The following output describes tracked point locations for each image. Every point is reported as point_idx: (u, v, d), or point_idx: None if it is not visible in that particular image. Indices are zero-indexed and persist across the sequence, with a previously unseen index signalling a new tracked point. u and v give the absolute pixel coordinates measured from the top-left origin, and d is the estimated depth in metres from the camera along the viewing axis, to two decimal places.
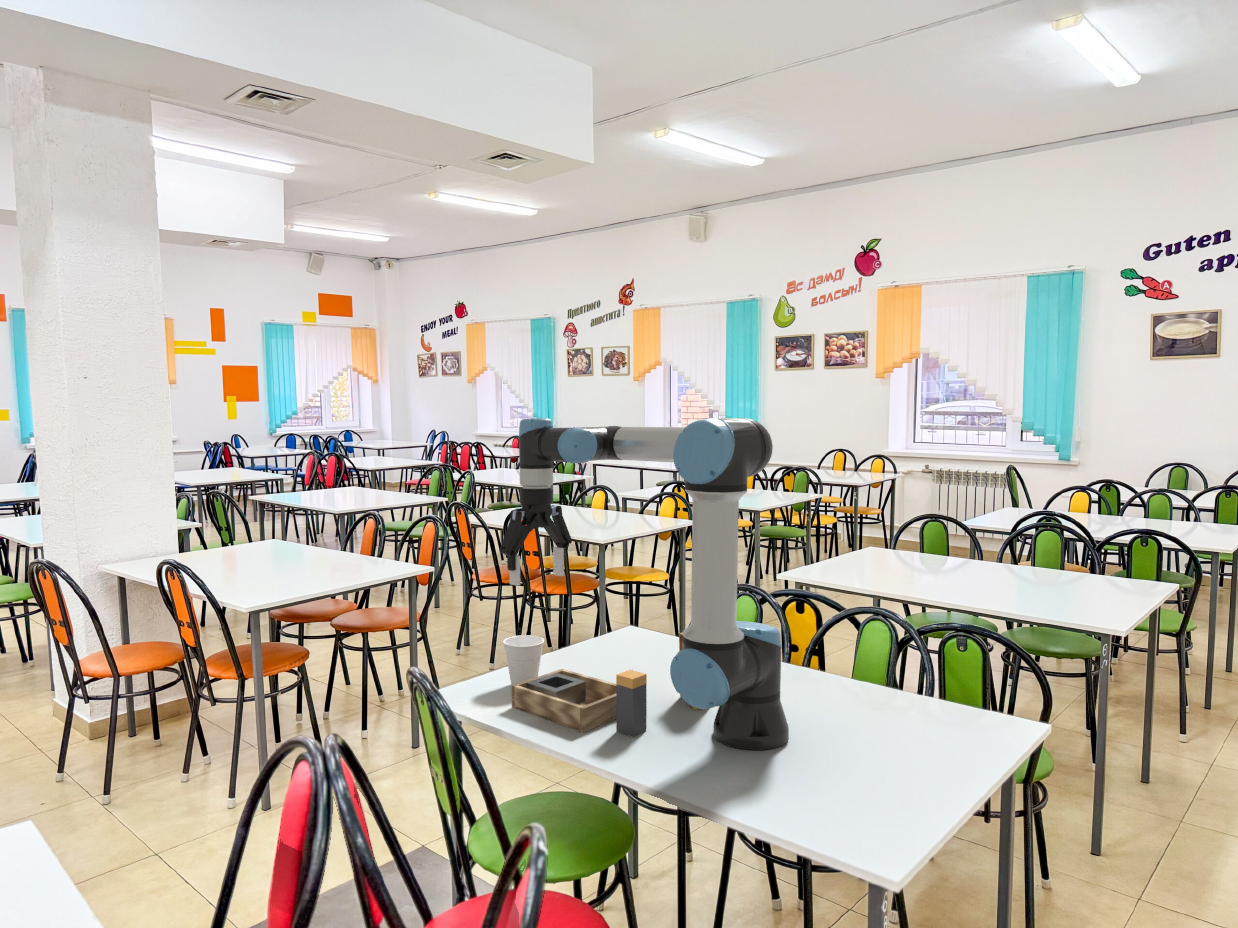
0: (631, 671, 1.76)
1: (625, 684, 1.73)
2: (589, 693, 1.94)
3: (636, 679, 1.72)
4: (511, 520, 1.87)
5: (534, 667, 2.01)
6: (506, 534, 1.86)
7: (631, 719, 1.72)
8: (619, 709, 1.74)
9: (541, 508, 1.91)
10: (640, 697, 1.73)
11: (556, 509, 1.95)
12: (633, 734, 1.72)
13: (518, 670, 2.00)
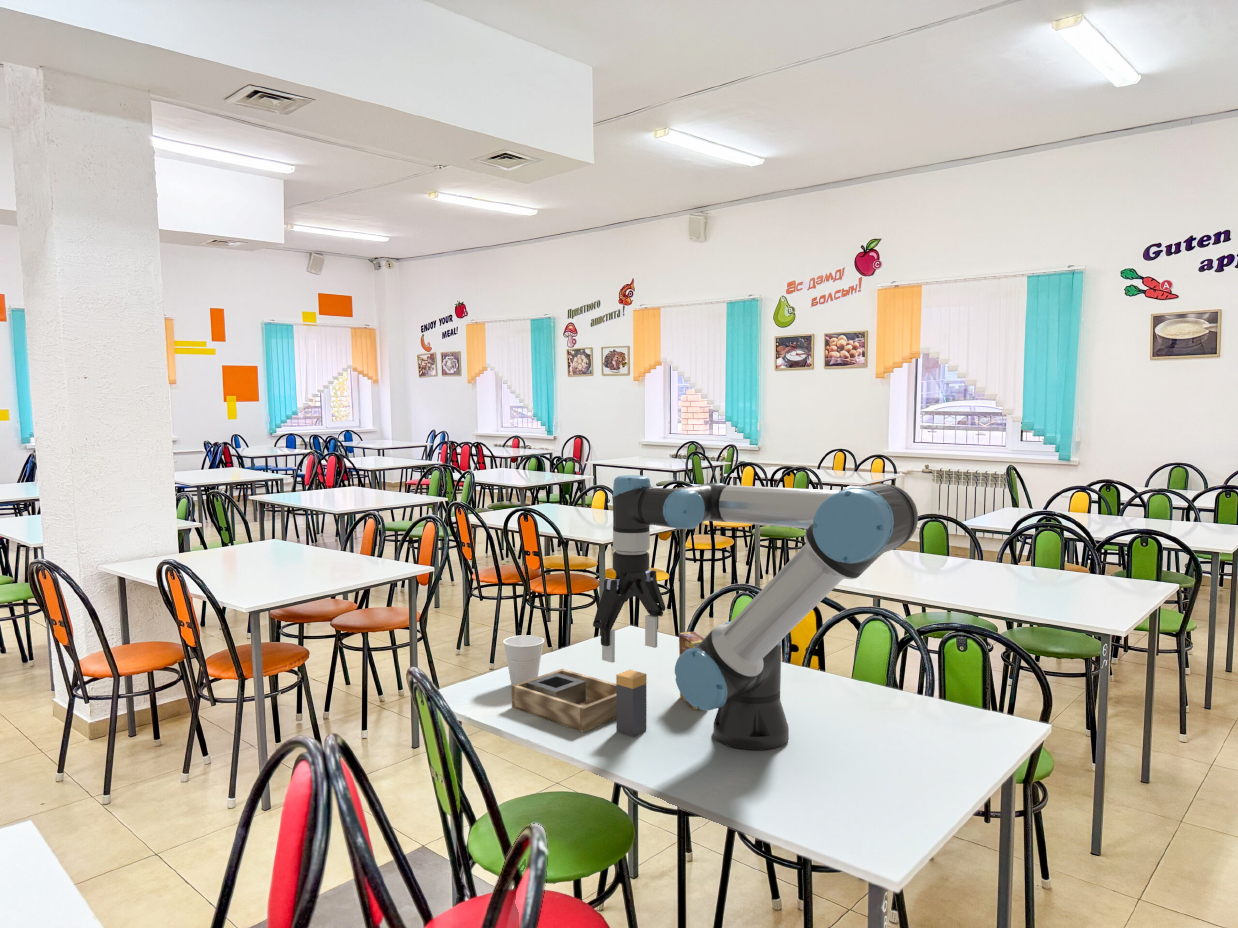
0: (631, 671, 1.76)
1: (625, 684, 1.73)
2: (589, 693, 1.94)
3: (636, 679, 1.72)
4: (605, 590, 1.68)
5: (534, 667, 2.01)
6: (599, 606, 1.68)
7: (631, 719, 1.72)
8: (619, 709, 1.74)
9: (636, 575, 1.73)
10: (640, 697, 1.73)
11: (650, 574, 1.77)
12: (633, 734, 1.72)
13: (518, 670, 2.00)
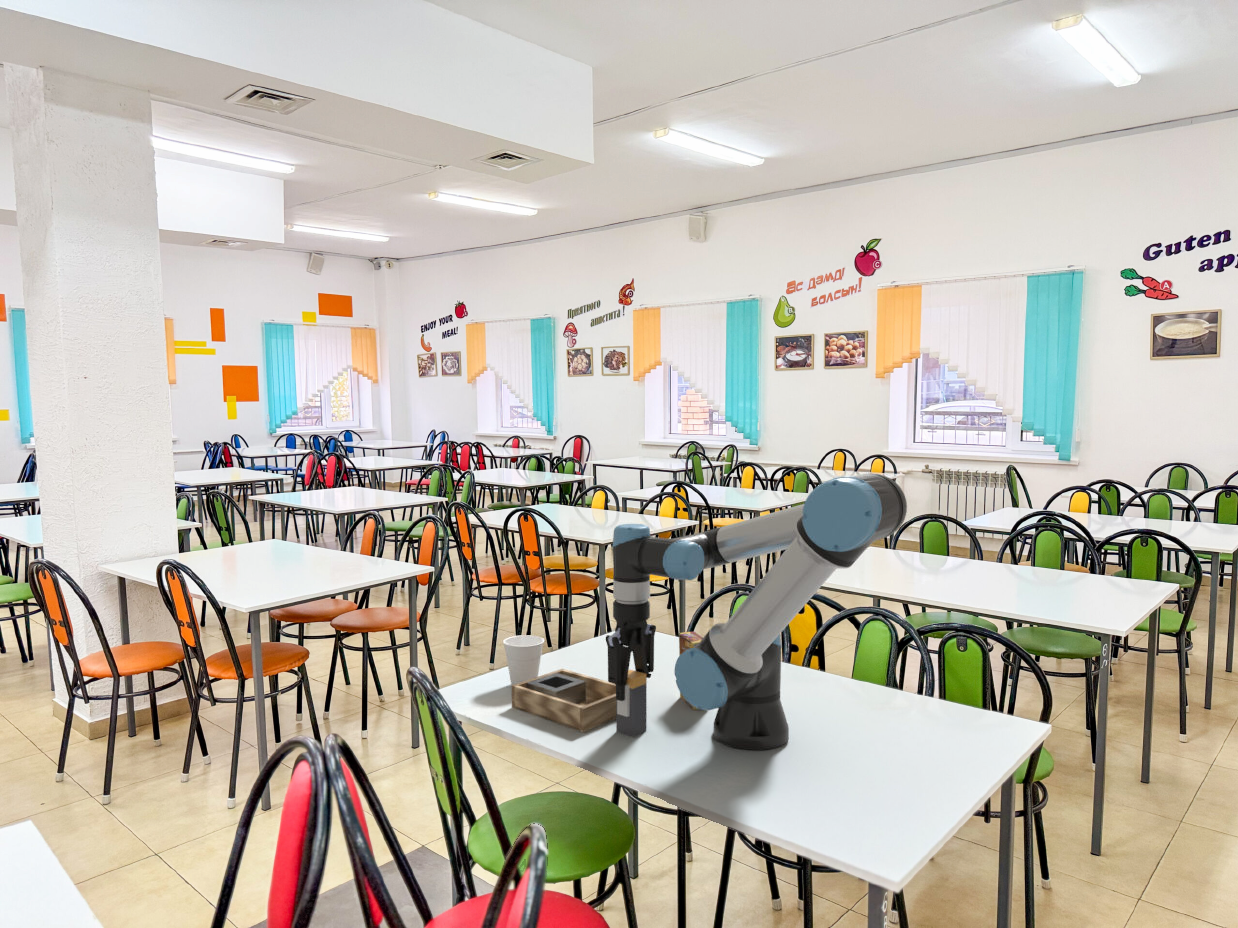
0: (631, 671, 1.76)
1: None
2: (589, 693, 1.94)
3: (636, 679, 1.72)
4: (609, 647, 1.70)
5: (534, 667, 2.01)
6: (609, 663, 1.70)
7: (631, 719, 1.72)
8: None
9: (636, 623, 1.73)
10: (640, 697, 1.73)
11: (650, 627, 1.77)
12: (633, 734, 1.72)
13: (518, 670, 2.00)
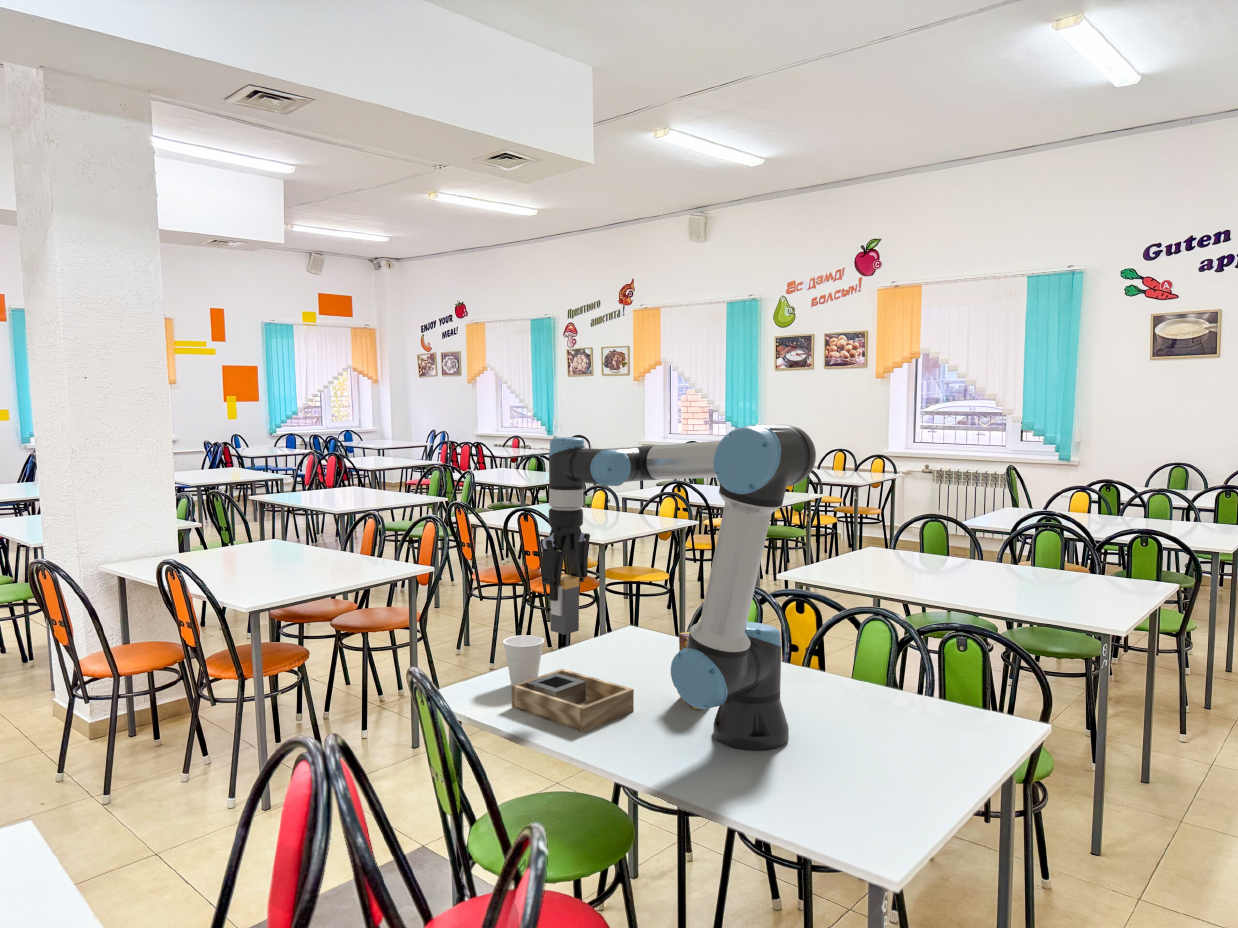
0: (565, 575, 1.89)
1: None
2: (589, 693, 1.94)
3: (569, 581, 1.85)
4: (543, 549, 1.82)
5: (534, 667, 2.01)
6: (543, 565, 1.83)
7: (563, 618, 1.85)
8: None
9: (570, 530, 1.86)
10: (572, 598, 1.86)
11: (584, 536, 1.90)
12: (565, 632, 1.85)
13: (518, 670, 2.00)
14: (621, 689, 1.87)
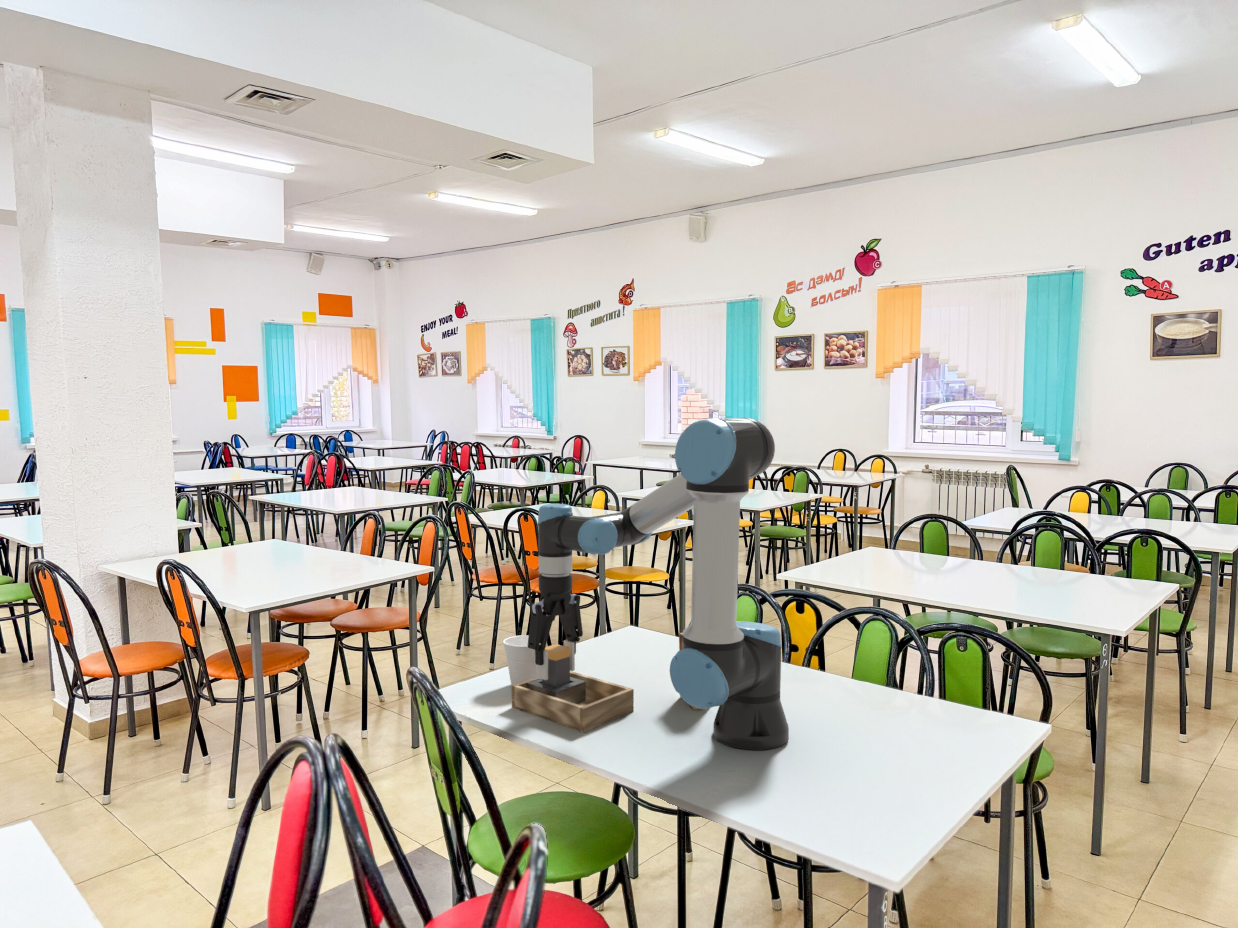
0: (556, 645, 1.92)
1: (549, 657, 1.88)
2: (589, 693, 1.94)
3: (559, 652, 1.88)
4: (532, 614, 1.85)
5: (534, 667, 2.01)
6: (530, 629, 1.85)
7: None
8: (544, 680, 1.90)
9: (560, 595, 1.89)
10: (563, 669, 1.89)
11: (575, 597, 1.93)
12: None
13: (518, 670, 2.00)
14: (621, 689, 1.87)
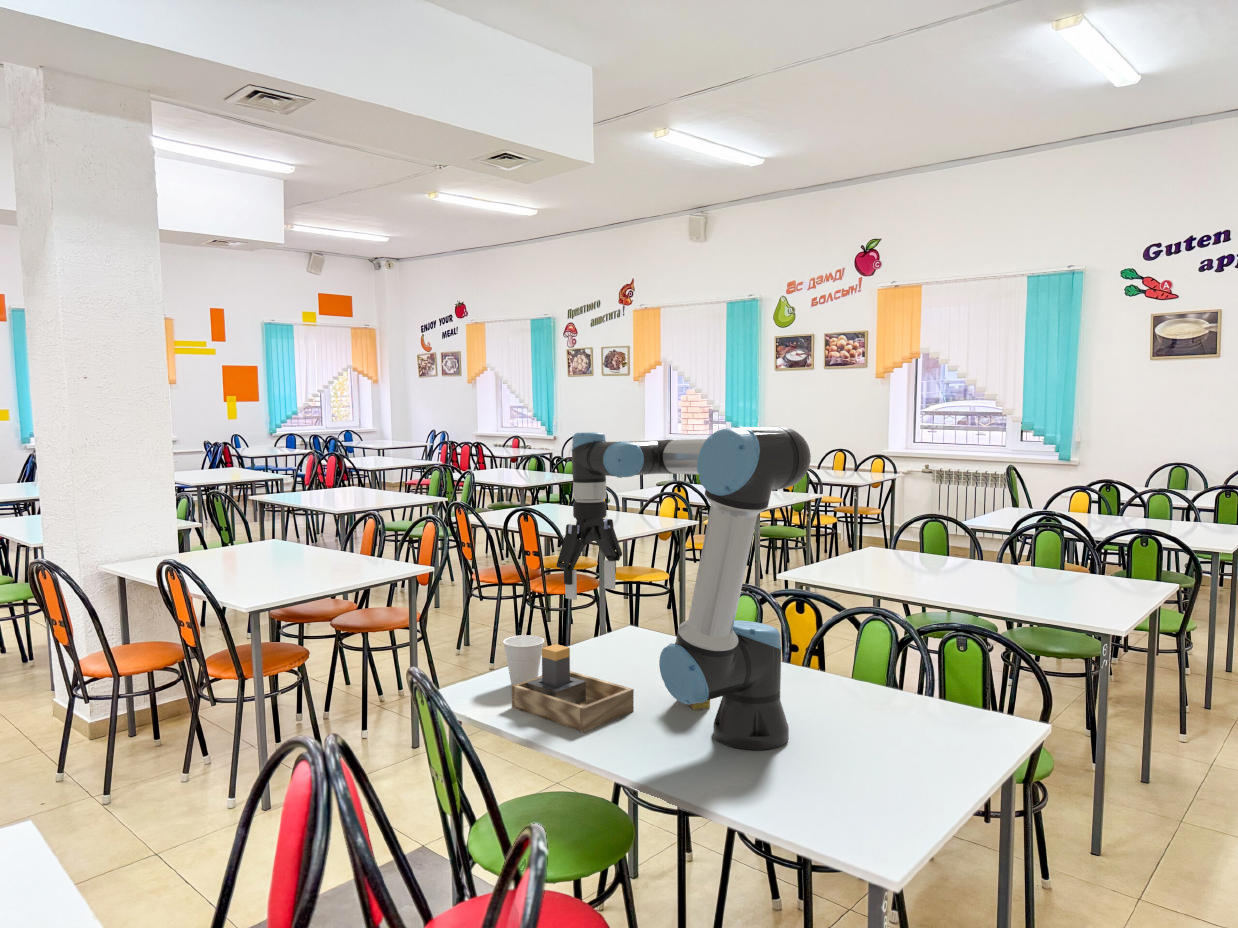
0: (556, 645, 1.92)
1: (549, 657, 1.88)
2: (589, 693, 1.94)
3: (559, 652, 1.88)
4: (567, 534, 1.87)
5: (534, 667, 2.01)
6: (562, 548, 1.86)
7: None
8: (544, 680, 1.90)
9: (595, 522, 1.92)
10: (563, 669, 1.89)
11: (608, 522, 1.96)
12: None
13: (518, 670, 2.00)
14: (621, 689, 1.87)
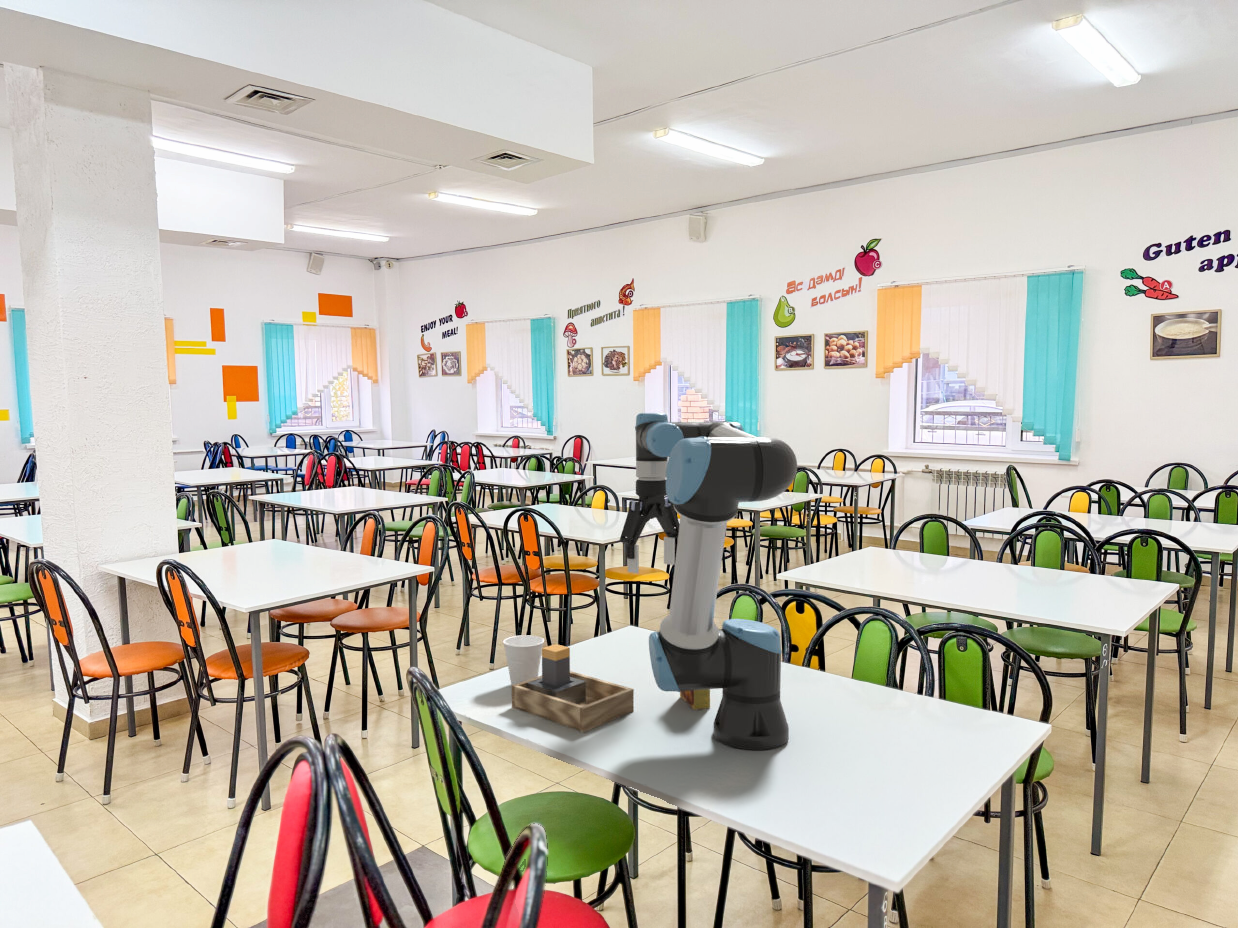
0: (556, 645, 1.92)
1: (549, 657, 1.88)
2: (589, 693, 1.94)
3: (559, 652, 1.88)
4: (630, 510, 1.95)
5: (534, 667, 2.01)
6: (625, 524, 1.94)
7: None
8: (544, 680, 1.90)
9: (656, 499, 1.99)
10: (563, 669, 1.89)
11: (668, 500, 2.03)
12: None
13: (518, 670, 2.00)
14: (621, 689, 1.87)
